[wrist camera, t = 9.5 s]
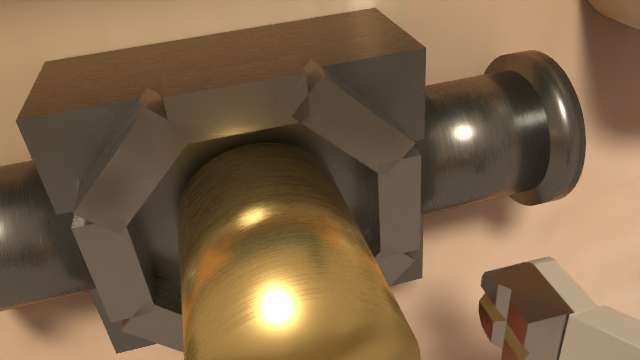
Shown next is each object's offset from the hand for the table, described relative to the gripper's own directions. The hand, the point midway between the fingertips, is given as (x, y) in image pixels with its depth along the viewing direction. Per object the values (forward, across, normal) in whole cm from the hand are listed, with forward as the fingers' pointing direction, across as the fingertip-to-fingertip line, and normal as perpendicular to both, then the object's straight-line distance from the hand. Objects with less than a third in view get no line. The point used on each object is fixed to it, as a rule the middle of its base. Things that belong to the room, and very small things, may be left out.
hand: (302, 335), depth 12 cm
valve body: (+9, 0, +2) cm, 9 cm away
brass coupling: (+5, 0, 0) cm, 5 cm away
